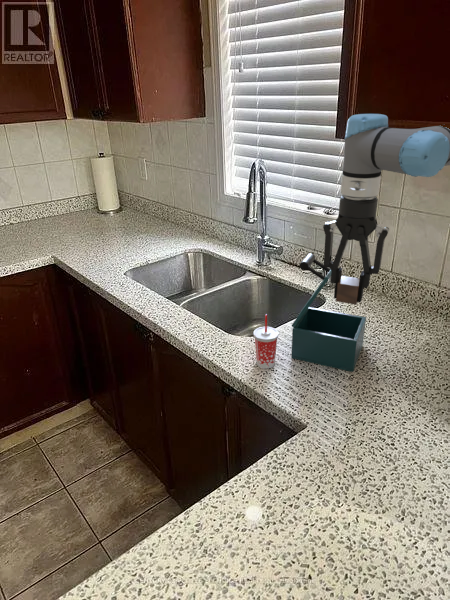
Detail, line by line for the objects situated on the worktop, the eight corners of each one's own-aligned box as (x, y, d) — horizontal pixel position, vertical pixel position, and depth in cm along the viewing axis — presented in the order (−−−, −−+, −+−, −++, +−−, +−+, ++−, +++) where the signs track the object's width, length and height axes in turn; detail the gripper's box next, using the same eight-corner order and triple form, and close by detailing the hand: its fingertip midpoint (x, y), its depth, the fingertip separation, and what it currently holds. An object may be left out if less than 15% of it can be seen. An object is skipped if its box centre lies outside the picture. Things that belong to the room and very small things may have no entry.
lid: (341, 259, 111) (315, 242, 112) (329, 278, 101) (301, 260, 102) (308, 306, 120) (285, 290, 121) (293, 327, 110) (268, 310, 111)
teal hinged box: (362, 346, 118) (366, 317, 114) (353, 372, 108) (356, 341, 104) (305, 334, 124) (306, 306, 120) (291, 358, 114) (292, 328, 110)
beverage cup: (282, 365, 112) (284, 316, 105) (263, 373, 109) (263, 323, 103) (268, 353, 116) (268, 306, 110) (248, 361, 114) (248, 313, 107)
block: (359, 296, 103) (362, 278, 101) (356, 304, 99) (358, 286, 97) (340, 293, 105) (341, 275, 103) (336, 301, 101) (337, 283, 99)
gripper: (312, 196, 92) (306, 298, 102) (402, 204, 85) (386, 311, 95) (321, 188, 98) (314, 285, 108) (406, 194, 91) (390, 297, 101)
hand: (348, 297), depth 102 cm, fingers closed on block, 4 cm apart
